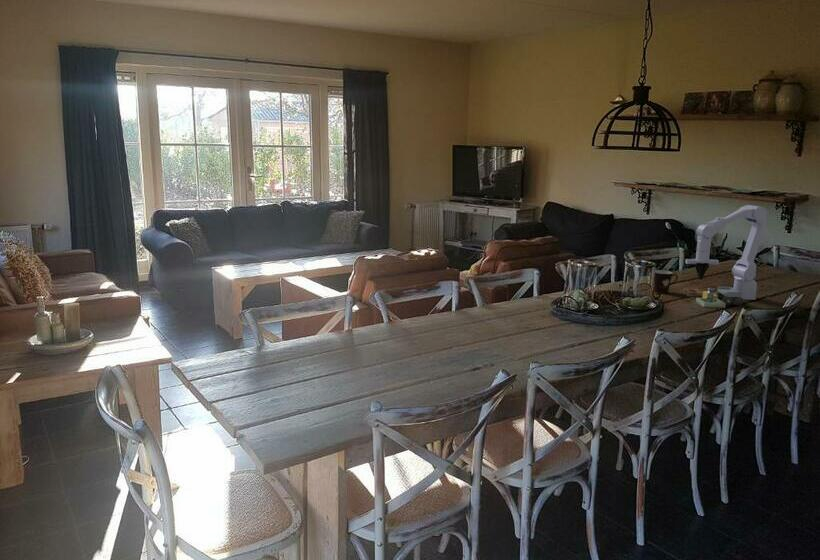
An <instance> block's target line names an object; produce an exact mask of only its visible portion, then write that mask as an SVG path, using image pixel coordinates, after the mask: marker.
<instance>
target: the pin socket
mask: <svg viewBox="0 0 820 560" xmlns="http://www.w3.org/2000/svg"><path fill="white" fill-rule="evenodd" d="M682 294H684V295H685V296H687V297H696V298H702V297H703V291H701V290H700V289H698V288H683V289H682Z"/></svg>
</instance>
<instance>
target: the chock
mask: <svg viewBox="0 0 820 560" xmlns="http://www.w3.org/2000/svg"><path fill="white" fill-rule="evenodd" d="M702 292H703V297H701V298H707V296H708V290H707V291H706V290H703V291H702ZM713 298H718V296H717V295H715V293H714V294H713Z"/></svg>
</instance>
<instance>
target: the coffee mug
mask: <svg viewBox="0 0 820 560" xmlns="http://www.w3.org/2000/svg"><path fill="white" fill-rule="evenodd" d="M654 271H655V277H654V276H653V285H654V286H653V287H654V288H655V292H654V293H656V292H657V293H658V294H668V293H669V290H670V286H672V285H673V284H675V283H676V282H677V280H678V279H679V278H678V277H679V276H678V274H675V273H673V272H672V271H670V270H662V269H657V270H654ZM673 276H675V277H676V278H675V280H674V281H672V278H673ZM671 281H672V282H671ZM654 288H653V289H654ZM657 293H656V294H657Z"/></svg>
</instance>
